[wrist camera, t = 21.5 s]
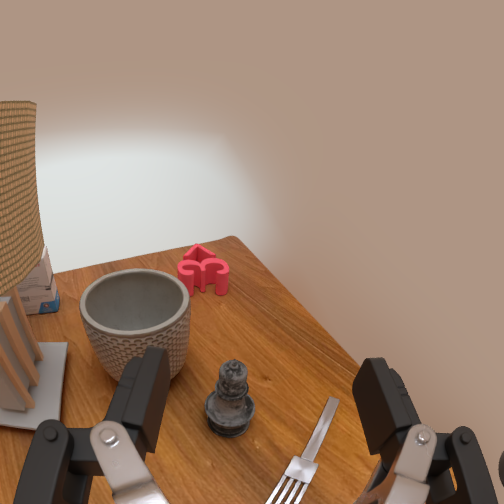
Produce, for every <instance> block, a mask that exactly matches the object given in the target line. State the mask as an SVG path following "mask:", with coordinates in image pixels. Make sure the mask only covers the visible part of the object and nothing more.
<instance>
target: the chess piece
mask: <svg viewBox="0 0 504 504" xmlns="http://www.w3.org/2000/svg"><path fill="white" fill-rule="evenodd" d="M247 372H248V371H247V367H246V366H245V365H244V364H243V363H242V362H240V361H238V360H235V359H234V360H229V361H227V362H225V363H223V364H222V365H221V367H220V370H219V380H218V381H217V382H216V384H215V391H213V392H212V393H211V394H210V395H209V396H208V397H207V399H206V401H205V412H206V413H207V415H208V419H207V421H208V425H209V427H210V429H211V430H212V431H213V432H214V433H216V434H217V435H219V436H222V437H227V438H232V437H237V436H240V435H242V434H243V433H245V431H246V430H247V429H248V427H249V423H250V419H251V418H252V417H253V415H254V412H255V404H254V401H253V399H252V398H251V397H250V396H249V395H248V394H247V393H248V390H249V387H248V384H247V382H246V380H247Z"/></svg>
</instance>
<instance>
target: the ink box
mask: <svg viewBox="0 0 504 504" xmlns="http://www.w3.org/2000/svg"><path fill="white" fill-rule="evenodd" d="M16 286H17V290H18V293H19V296H20V299H21V302H22V305H23V308H24V310H25V313H26V315H29V314H39V313H48V312H57V311H58V308H59V299H60V298H59V294H58V291H57V287H56V283H55V280H54V276H53V272H52V268H51V264H50V259H49V255H48V251H47V247H44V249H43V253H42V257H41V261H40V262H39V263H38V264H37V265H36V266H35V268H34V269H33V270H32V271H31V272H30V273H29V275H28V276H27V277H26V278H25V279H24V280H23V281H22V282H21V283H19V284H18V285H16Z"/></svg>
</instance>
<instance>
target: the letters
mask: <svg viewBox="0 0 504 504" xmlns="http://www.w3.org/2000/svg"><path fill="white" fill-rule="evenodd" d="M228 276H229V267H228V265H227V263H226V262H225V261H223V260H221V259H217V258H216V254H214V253H212V252H211V251H209V250H207V249H206V248H204V247H202V246H201V245H199V244H195V245H194V246H193V247H192V248H191V249H190V250H189V251H188V252H187V253H186V254H185V255H184V256H183V261H181V262H179V263H178V279H179V280H180V281H181V282H182V283H183V284H184V285H185V286H186V288H187V289H188V292H189V295H190V297H191V296H193V294H194V286H197V287H199V288H200V291H201V292H205V285H207V284H216V294H217V295H225V294H226V293H227V290H228Z"/></svg>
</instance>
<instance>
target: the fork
mask: <svg viewBox="0 0 504 504" xmlns="http://www.w3.org/2000/svg"><path fill="white" fill-rule="evenodd" d="M339 401H340V400H339V399H336V398H333V397H331V396H330V397H329V399H328V401H327V403H326V405H325V408H324V410H323V412H322V414H321V417H320V419H319V421H318V423H317V425H316V427H315V429H314V431H313V433H312V436H311V438H310V440H309V442H308V444H307V446H306V447H305V449H304V451H303V453H302V455H301V457H297V456H295V455H294V457H293V458H292V460H291V462H290V464H289V465H288V467H287V469H286V471H285V472H284V474H283V476H282V477H281V479H280V481H279V482H278V484H277V486H276V487H275V489H274V490H273V492H272V494H271V495H270V497H269V498H268V500H267V501H266V503H265V504H271V502H272V501H273V499H274V497H275V496H276V494H277V493H278V491H279V489H280V488H281V486H282V484H283V483H284V481H285V479H286V478H289V480H288V482H287V484H286V486H285V487H284V489H283V491H282V492H281V494H280V496H279V497H278V499H277V501H276V502H275V504H280V503H281V501H282V500H283V498H284V496H285V495H286V493H287V491H288V490H289V488H290V486H291V484H292V483H293V481H297V482H296V484H295V485H294V487H293V489H292V491H291V492H290V494H289V496H288V498H287V499H286V501H285V503H284V504H290V502H291V500H292V498H293V497H294V495H295V493H296V491H297V489H298V488H299V486H300V484H301V483H302V484H304V485H303V487H302V488H301V490H300V492H299V494H298V496H297V497H296V499H295V501H294V503H293V504H299V502H300V500H301V498H302V497H303V495H304V493H305V491H306V489H307V487H308V485H309V483H310V482H311V480H312V478H313V476H314V474H315V472H316V469H317V467H318V465H319V464H316V463H313V461H314V459H315V457H316V455H317V452H318V450H319V448H320V446H321V444H322V442H323V439H324V437H325V435H326V433H327V430H328V428H329V426H330V423H331V421H332V419H333V416H334V414H335V411H336V409H337V406H338V404H339Z"/></svg>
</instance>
